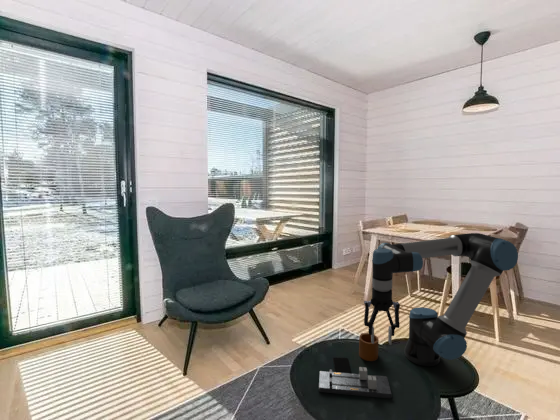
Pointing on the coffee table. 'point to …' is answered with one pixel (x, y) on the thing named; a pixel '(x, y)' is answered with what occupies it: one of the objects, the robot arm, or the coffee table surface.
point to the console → (353, 385)
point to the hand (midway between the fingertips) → (381, 342)
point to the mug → (368, 347)
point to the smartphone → (342, 365)
